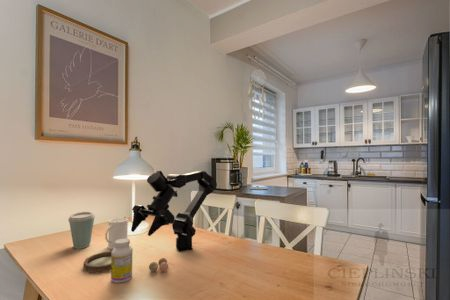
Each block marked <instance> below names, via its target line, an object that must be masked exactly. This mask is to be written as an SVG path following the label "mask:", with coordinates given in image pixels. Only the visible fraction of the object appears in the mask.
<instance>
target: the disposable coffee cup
mask: <svg viewBox="0 0 450 300" xmlns="http://www.w3.org/2000/svg"><path fill="white" fill-rule="evenodd" d="M94 222H95V214H94V213H93V212H92V211H79V212H75V213H72V214H70V215H69V217H68V223H69V227H70V232H71V234H70V235H71V239H72V246H73V248H74V249H79V250H80V249H85V248H87V247H89V246H90V245H91V242H92V235H93V228H94Z"/></svg>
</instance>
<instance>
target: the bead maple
mask: <svg viewBox="0 0 450 300" xmlns="http://www.w3.org/2000/svg"><path fill="white" fill-rule="evenodd" d="M148 270H149V271H150V272H153V273H154V272H156V271H157V270H159V264H158V262H156V261H152V262H150V263H149V265H148Z"/></svg>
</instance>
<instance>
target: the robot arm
mask: <svg viewBox="0 0 450 300" xmlns="http://www.w3.org/2000/svg"><path fill="white" fill-rule="evenodd" d="M195 181H196V182H197V184H198V190H197V192H196V194H195V196H194V197H193V198H192V200H191V202H189V205H188V206H187V207H186V209H185V211H184V212H183V213H181V212H178V213H177V214H176V216H175V215H174V214H173V213H172V212H171V211H170V209H169V208H170V202H171V200H172V199H173V197H174V198H175V197H176V198H177V197H178V192H177V190H175V189H181V188H182V187H185V186H186V185H187V184H188V183H193V182H195ZM146 182H147V183H148V184H149V186H150V187H151V188H152V189H153V190H154V191H155V192H156V193H157V195H156V196H155V195H154V196H152V200H153V201H152V202H151V203H150V204H147V205H146V207H145V206H144V205H143V204H142V205H141V204H135V205H134V206H133V207H132V209H131V210H132V213H133V216H132V217H133V219H132V224H131V230H130V231H131V232H133V233H134V232H135V231H136V230H137V228H138V227H139V226H140V225H141V224H142V222H144V221H146V220H147V218H148V217H149V216H152V217H154V218H153V221H152V223H151V225H150V227H149V230H148V233H147V236H149V237H151V236H152V235H153V234H154V233H156V231H158V230H159V229H160V228H161V227H163V226H169V225H171V226H172V231H173V233H174V235H176V238H175V248H176V249H177V251H178V252H185V251H193V250H194V248H193V237H194V236H195V235H196V228H195V227H194V226H193V225H194V217H196V214H197V212H199V210H200V208H201V206H202V204H203V203H204V201H205V200H206V198H207V196H208V195H210V194H212V193H213V192H214V191H215V190H216V188H217V186H218V184H217V181H216V179H215V178H214V177H213V176H211V175H209V174H208V173H207V171H205V170H196V171H192V172H189V173H184V174H175V173H172V174H170V173H169V174H168V175H167V176H165V175H164V173H163V172H162V170H157V171H156V172H154V173H152V174H151V175H148V177H147V179H146ZM174 188H175V189H174Z"/></svg>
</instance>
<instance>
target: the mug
mask: <svg viewBox="0 0 450 300" xmlns="http://www.w3.org/2000/svg"><path fill="white" fill-rule="evenodd" d="M128 221H129V219H128V218H126V217H115V218H112V219H109V221H108V227H107V229H106V232H105V234H104V235H105V240H106V243H108V245H107V248H108V249H109V250H113V249H114V248H115V241H116V240H119V239H128V227H129V226H128V225H129V224H128Z"/></svg>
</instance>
